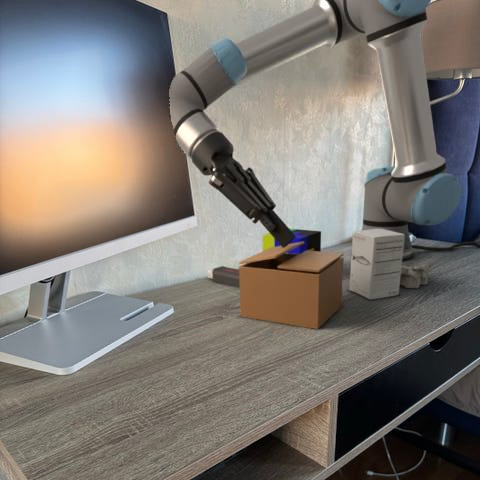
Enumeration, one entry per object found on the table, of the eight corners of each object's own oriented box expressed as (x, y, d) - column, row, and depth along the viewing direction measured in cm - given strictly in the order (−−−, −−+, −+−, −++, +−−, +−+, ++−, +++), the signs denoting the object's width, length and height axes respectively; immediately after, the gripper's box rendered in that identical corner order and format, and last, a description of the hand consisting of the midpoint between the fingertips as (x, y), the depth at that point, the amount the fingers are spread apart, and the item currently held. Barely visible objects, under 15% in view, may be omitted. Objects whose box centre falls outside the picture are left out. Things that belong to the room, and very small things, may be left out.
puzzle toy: (299, 282, 102) (299, 238, 98) (263, 276, 107) (262, 234, 104) (320, 272, 109) (321, 231, 105) (285, 267, 115) (285, 228, 111)
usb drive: (242, 288, 99) (241, 276, 98) (204, 279, 107) (204, 268, 106) (257, 282, 103) (256, 271, 102) (220, 274, 110) (219, 263, 109)
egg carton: (432, 283, 97) (434, 265, 95) (412, 290, 93) (414, 271, 91) (390, 274, 105) (391, 257, 103) (370, 280, 101) (371, 262, 99)
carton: (240, 316, 82) (238, 262, 79) (271, 296, 93) (270, 247, 89) (317, 329, 75) (319, 270, 71) (341, 305, 86) (343, 253, 82)
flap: (239, 264, 79) (238, 262, 79) (271, 249, 89) (270, 247, 89) (275, 258, 75) (275, 255, 75) (304, 243, 85) (304, 241, 85)
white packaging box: (348, 290, 94) (351, 230, 90) (377, 285, 97) (382, 227, 92) (369, 300, 88) (373, 236, 83) (400, 295, 90) (406, 233, 86)
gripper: (213, 160, 89) (290, 248, 87) (173, 163, 78) (260, 263, 76) (235, 130, 84) (316, 222, 83) (196, 129, 74) (288, 234, 72)
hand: (289, 242), depth 80 cm, fingers closed
